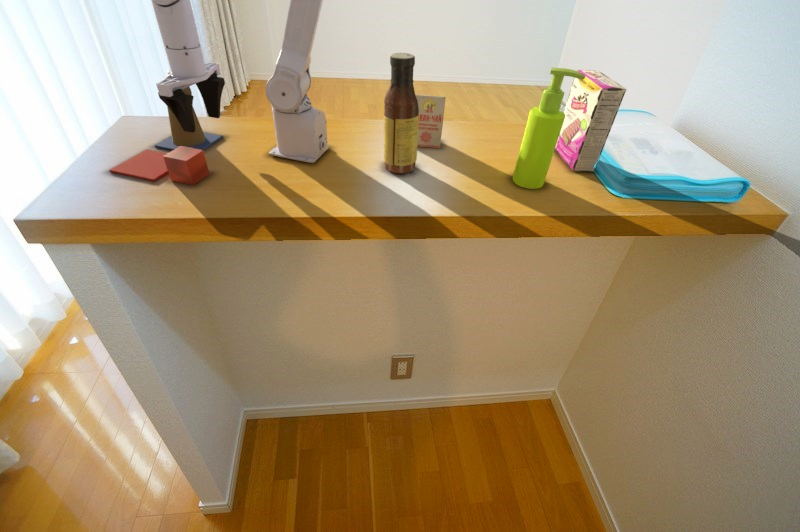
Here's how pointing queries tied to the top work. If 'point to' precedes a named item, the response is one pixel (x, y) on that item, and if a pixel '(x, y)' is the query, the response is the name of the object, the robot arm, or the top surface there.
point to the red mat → (143, 166)
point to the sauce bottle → (401, 116)
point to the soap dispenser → (542, 133)
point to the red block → (186, 165)
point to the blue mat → (208, 141)
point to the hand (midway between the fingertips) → (202, 123)
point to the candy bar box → (588, 119)
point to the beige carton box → (430, 120)
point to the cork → (183, 136)
